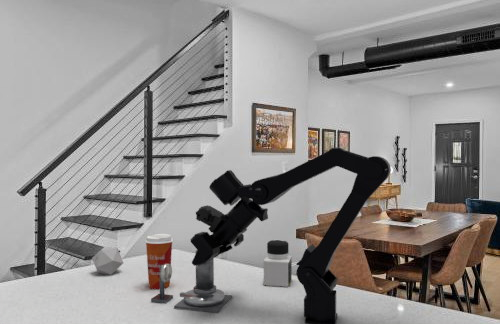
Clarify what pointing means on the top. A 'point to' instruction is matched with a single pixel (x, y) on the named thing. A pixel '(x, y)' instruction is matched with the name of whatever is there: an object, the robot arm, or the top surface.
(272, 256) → the medicine bottle
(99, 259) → the die
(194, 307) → the turntable base
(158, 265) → the paper cup
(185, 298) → the platter
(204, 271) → the cylinder with brass cap
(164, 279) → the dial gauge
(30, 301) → the top surface
